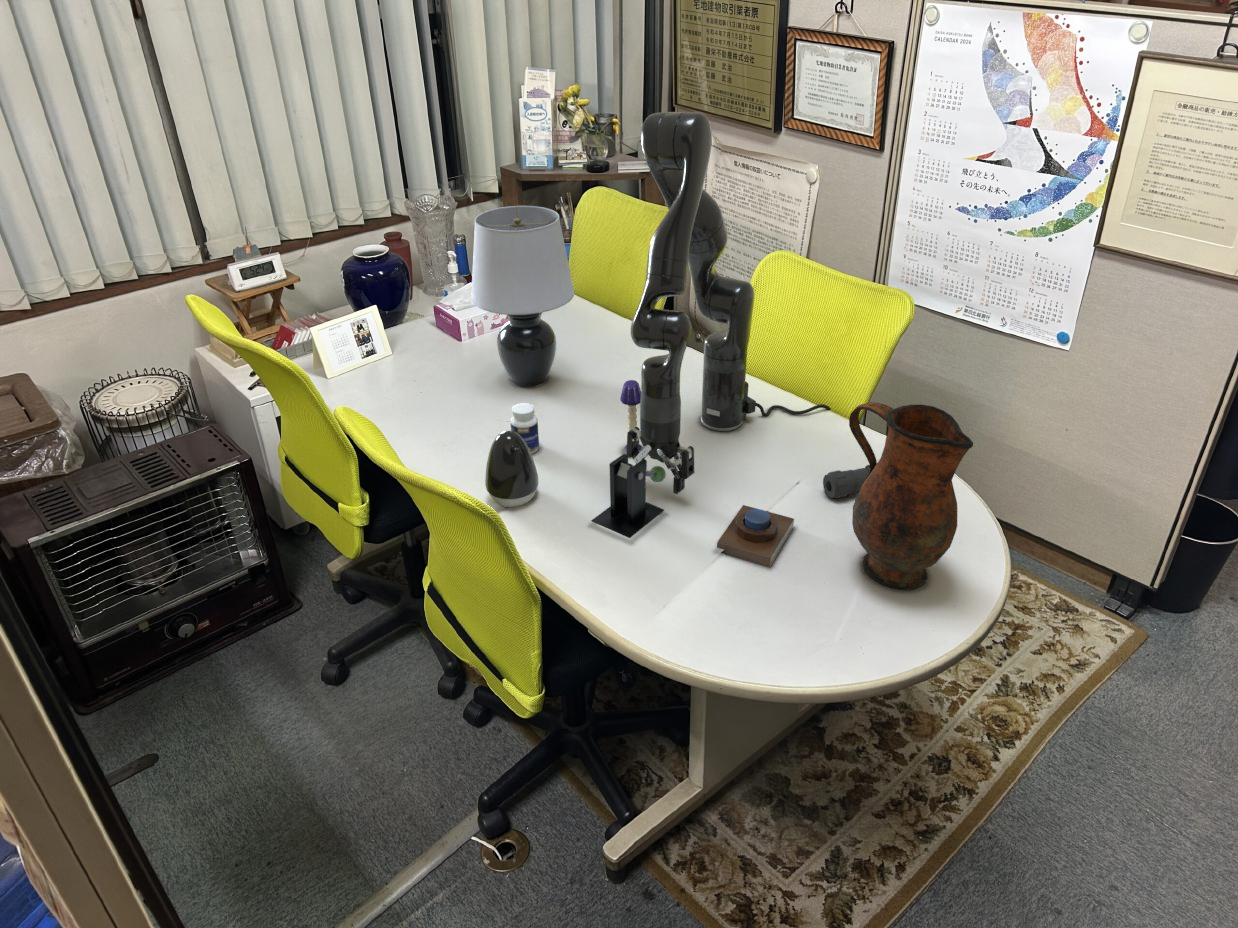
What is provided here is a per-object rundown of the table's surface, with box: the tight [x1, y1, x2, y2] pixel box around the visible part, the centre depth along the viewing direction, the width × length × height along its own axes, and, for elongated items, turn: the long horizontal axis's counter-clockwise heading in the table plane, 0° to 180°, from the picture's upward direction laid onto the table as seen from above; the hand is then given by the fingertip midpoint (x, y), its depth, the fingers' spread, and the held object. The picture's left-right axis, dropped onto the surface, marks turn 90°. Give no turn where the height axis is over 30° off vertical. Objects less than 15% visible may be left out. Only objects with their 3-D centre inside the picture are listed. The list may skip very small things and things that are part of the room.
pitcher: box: [848, 402, 974, 591], centre depth 147 cm, size 17×21×30 cm
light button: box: [745, 508, 770, 530], centre depth 159 cm, size 4×4×2 cm
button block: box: [716, 504, 795, 568], centre depth 161 cm, size 13×10×4 cm
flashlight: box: [822, 464, 870, 499], centre depth 174 cm, size 15×5×5 cm, turn 108°
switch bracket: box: [591, 453, 665, 539], centre depth 164 cm, size 11×9×13 cm
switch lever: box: [617, 462, 667, 483], centre depth 166 cm, size 14×3×3 cm, turn 143°
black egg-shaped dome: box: [484, 430, 540, 508], centre depth 170 cm, size 10×10×15 cm
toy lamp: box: [619, 379, 643, 452], centre depth 184 cm, size 5×5×17 cm
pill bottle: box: [510, 402, 540, 455], centre depth 188 cm, size 6×6×10 cm
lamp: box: [470, 205, 575, 388], centre depth 208 cm, size 24×24×40 cm
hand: (659, 484), depth 173 cm, fingers open, 8 cm apart
